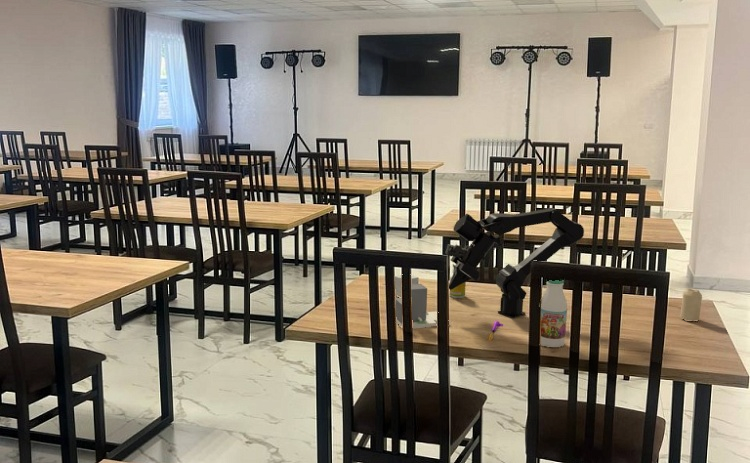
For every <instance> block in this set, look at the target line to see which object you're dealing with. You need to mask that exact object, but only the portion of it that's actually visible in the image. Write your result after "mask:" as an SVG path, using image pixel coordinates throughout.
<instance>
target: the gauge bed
mask: <svg viewBox="0 0 750 463" xmlns="http://www.w3.org/2000/svg"><path fill="white" fill-rule="evenodd" d="M395 299H396V317H397V323H398V324H399V325H400V326H402V298H398V297H395V298H394V300H395ZM437 312H438V311H426V320H422V321H413V329H412V330H414V329H425V327H426V328H432V327H431V326H436V324H437ZM397 323H396V324H397ZM398 324H397V325H398ZM399 325H398V326H399ZM449 325H450V321H449ZM400 326H399V327H400Z"/></svg>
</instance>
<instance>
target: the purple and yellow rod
mask: <svg viewBox="0 0 750 463" xmlns="http://www.w3.org/2000/svg"><path fill="white" fill-rule="evenodd" d="M503 326H504V324H502V323H500V321H497V320H496V321H494V324H493V326H492V329H491V333H490V334H489V336H488V341H490V342H491V341H492V339H493V337H494V336H495V335H494V334H495V333H496V330H497V327H503Z"/></svg>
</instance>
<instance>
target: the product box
mask: <svg viewBox="0 0 750 463" xmlns="http://www.w3.org/2000/svg"><path fill="white" fill-rule="evenodd" d="M401 275H402V274H400V275H399V274H398V275H394V281H395V289H396V296H397V295H398V296H400V297H401ZM410 275H411V276H412V285H413V284H419V276H415V275H413V274H410Z"/></svg>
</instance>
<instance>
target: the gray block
mask: <svg viewBox="0 0 750 463" xmlns="http://www.w3.org/2000/svg"><path fill="white" fill-rule="evenodd" d="M411 297H412V320H413V321H422V320H426V312H427V307H428V306H427V305H428V303H427V302H428V287H426V286H425V285H423V284H422V283H418V284H413V285H411Z"/></svg>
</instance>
